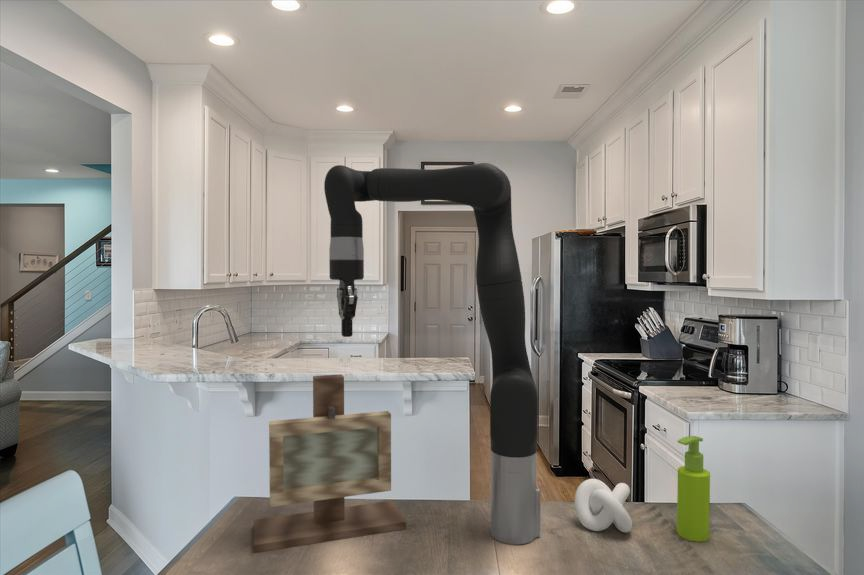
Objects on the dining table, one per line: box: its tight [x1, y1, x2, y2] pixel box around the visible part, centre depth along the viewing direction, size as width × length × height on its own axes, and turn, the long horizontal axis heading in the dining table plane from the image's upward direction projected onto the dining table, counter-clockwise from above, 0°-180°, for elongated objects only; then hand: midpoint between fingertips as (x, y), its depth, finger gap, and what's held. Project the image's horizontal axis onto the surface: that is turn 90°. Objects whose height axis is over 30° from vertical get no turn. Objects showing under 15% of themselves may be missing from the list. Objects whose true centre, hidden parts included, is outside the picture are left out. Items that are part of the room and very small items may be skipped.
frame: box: [268, 406, 392, 508], centre depth 108 cm, size 24×2×18 cm, turn 109°
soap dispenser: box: [676, 435, 711, 543], centre depth 109 cm, size 6×7×20 cm
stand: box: [253, 373, 407, 554], centre depth 111 cm, size 30×11×32 cm, turn 109°
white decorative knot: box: [573, 478, 633, 534], centre depth 112 cm, size 11×12×9 cm
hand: (346, 336), depth 119 cm, fingers closed
